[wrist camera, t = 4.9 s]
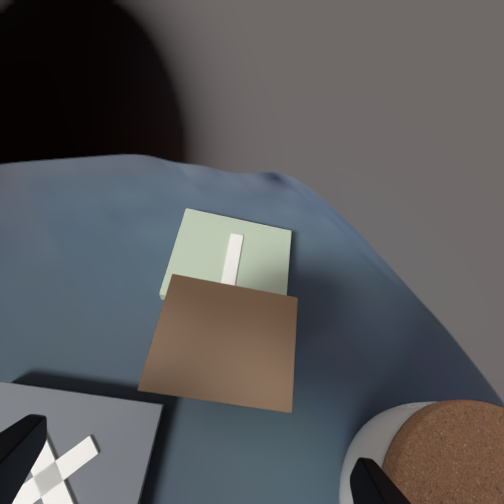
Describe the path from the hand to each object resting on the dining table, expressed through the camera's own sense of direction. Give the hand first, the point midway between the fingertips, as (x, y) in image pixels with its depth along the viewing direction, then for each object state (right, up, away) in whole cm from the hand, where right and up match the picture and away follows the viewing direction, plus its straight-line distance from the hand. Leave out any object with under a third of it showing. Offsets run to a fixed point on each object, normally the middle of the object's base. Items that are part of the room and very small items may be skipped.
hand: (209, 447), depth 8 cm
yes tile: (-1, +5, +14) cm, 15 cm away
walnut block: (-1, -2, +11) cm, 11 cm away
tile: (-9, -6, +7) cm, 13 cm away
